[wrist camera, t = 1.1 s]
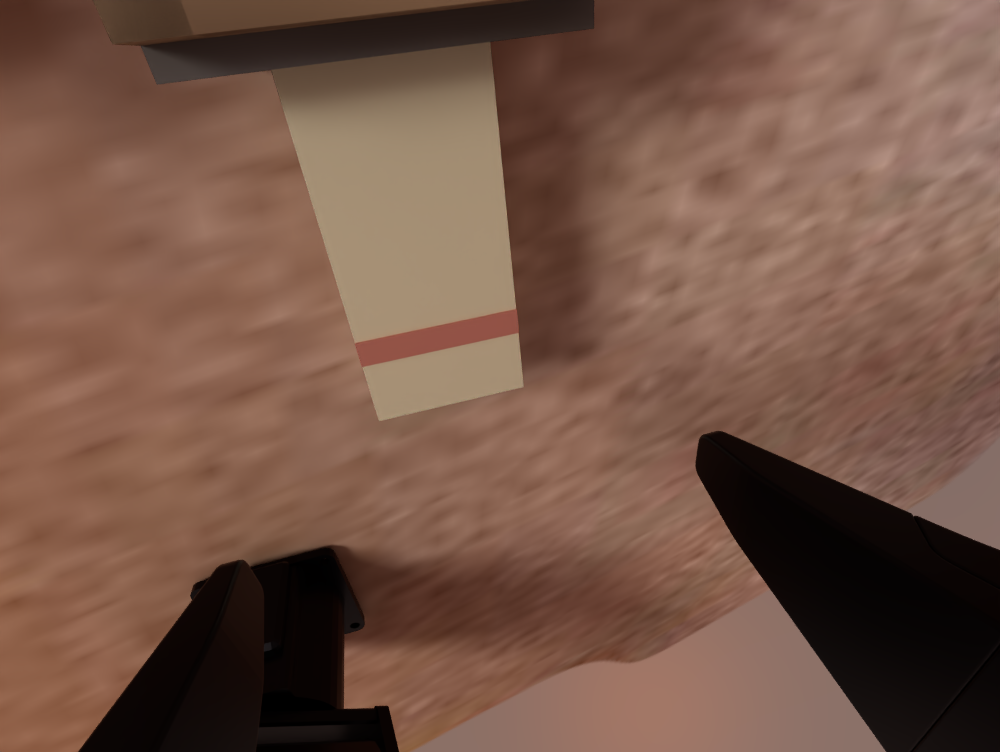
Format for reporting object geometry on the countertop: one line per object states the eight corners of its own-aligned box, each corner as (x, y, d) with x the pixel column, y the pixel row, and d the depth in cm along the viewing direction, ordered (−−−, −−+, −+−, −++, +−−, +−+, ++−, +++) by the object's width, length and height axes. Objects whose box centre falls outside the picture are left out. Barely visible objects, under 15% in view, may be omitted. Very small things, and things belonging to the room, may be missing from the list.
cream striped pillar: (498, 340, 20) (524, 388, 17) (374, 367, 19) (379, 423, 17) (439, -148, 12) (467, -211, 10) (228, -134, 12) (187, -198, 9)
